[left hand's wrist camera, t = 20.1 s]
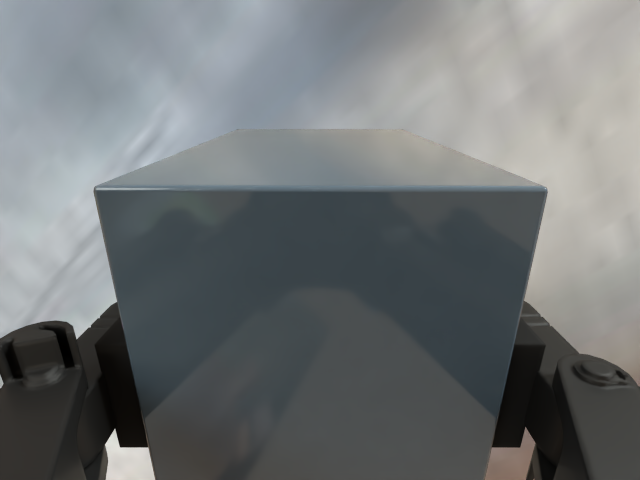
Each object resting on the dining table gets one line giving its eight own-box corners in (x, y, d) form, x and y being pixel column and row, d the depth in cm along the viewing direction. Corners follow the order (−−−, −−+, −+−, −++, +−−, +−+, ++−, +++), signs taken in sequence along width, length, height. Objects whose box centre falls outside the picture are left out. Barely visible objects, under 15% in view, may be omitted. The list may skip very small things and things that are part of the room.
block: (249, 311, 20) (169, 554, 9) (235, 128, 17) (89, 186, 6) (390, 311, 20) (469, 554, 9) (404, 129, 17) (551, 187, 6)
